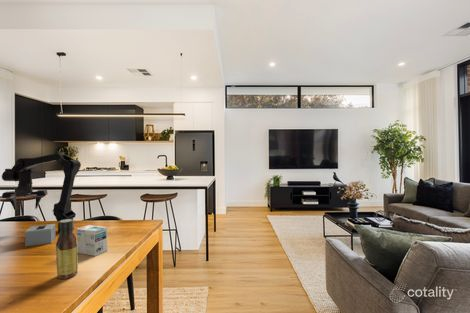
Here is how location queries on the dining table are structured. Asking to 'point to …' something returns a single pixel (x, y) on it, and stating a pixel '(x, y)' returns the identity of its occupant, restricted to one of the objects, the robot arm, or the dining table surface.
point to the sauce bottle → (66, 250)
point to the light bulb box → (91, 240)
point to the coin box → (40, 235)
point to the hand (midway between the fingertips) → (25, 209)
